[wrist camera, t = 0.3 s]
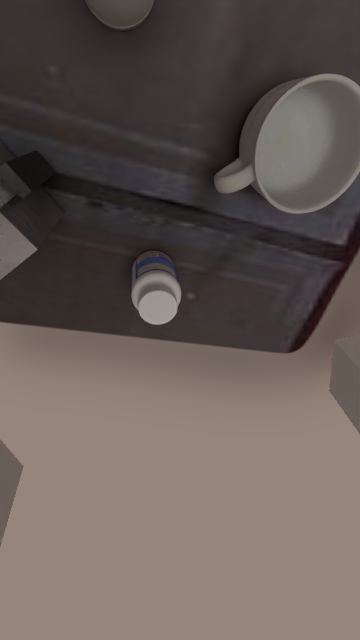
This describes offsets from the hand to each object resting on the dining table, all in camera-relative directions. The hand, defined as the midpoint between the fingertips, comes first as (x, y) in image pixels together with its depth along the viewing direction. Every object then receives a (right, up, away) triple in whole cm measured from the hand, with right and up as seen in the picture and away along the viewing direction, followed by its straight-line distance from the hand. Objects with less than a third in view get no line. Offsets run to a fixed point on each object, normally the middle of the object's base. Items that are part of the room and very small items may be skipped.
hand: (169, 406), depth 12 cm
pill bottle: (-3, +10, +28) cm, 30 cm away
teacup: (+10, +22, +22) cm, 33 cm away
